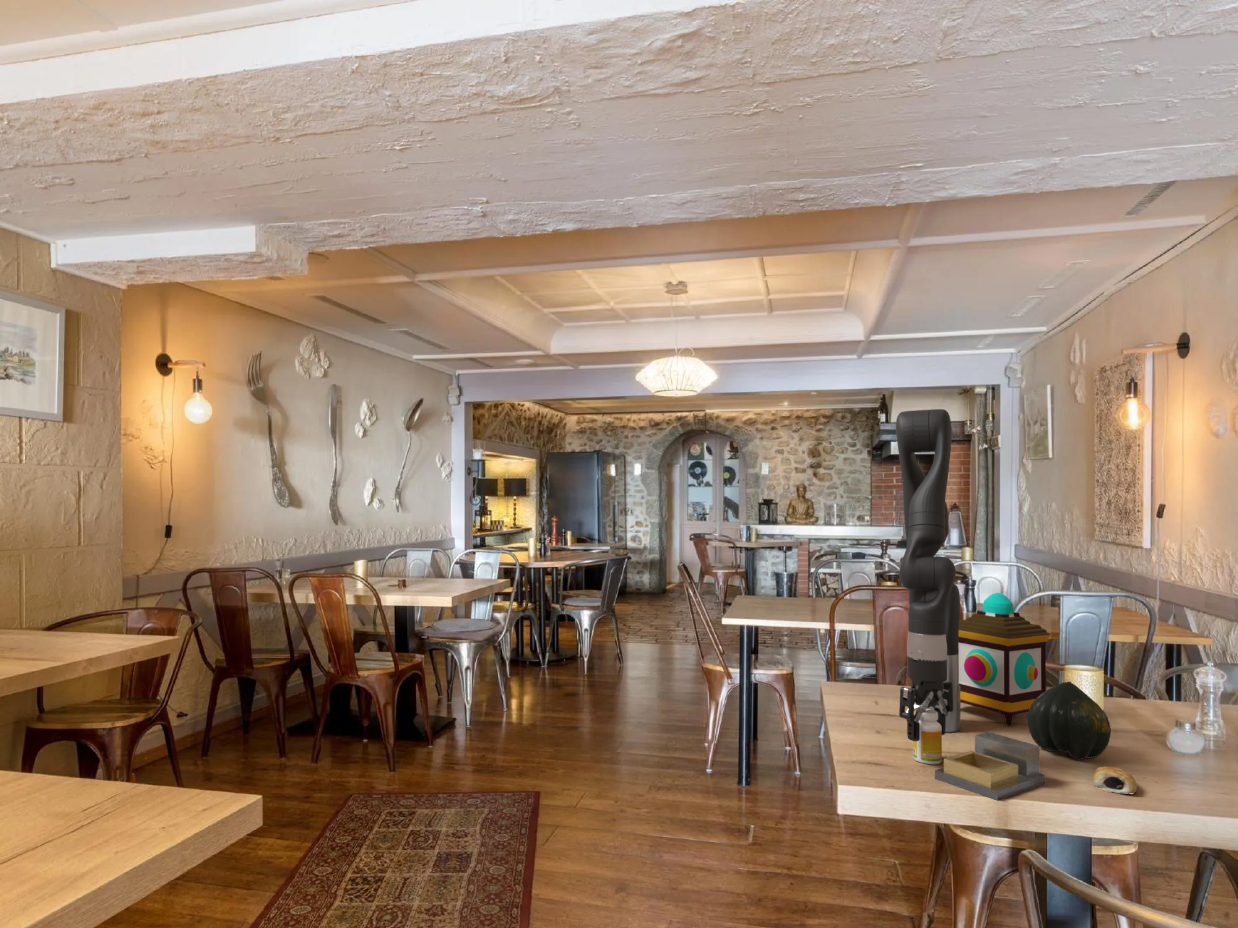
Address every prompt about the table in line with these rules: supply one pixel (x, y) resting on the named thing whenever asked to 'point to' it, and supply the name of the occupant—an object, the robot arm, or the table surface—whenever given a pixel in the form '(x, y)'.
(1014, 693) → the decorative lantern
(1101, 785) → the pastry
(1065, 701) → the squash
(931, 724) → the supplement bottle
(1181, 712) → the table surface
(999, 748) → the grey and tan tray
